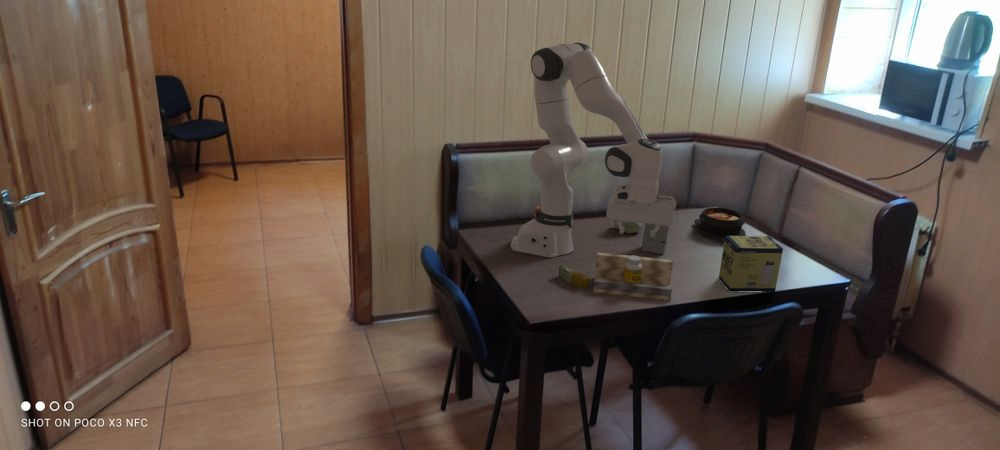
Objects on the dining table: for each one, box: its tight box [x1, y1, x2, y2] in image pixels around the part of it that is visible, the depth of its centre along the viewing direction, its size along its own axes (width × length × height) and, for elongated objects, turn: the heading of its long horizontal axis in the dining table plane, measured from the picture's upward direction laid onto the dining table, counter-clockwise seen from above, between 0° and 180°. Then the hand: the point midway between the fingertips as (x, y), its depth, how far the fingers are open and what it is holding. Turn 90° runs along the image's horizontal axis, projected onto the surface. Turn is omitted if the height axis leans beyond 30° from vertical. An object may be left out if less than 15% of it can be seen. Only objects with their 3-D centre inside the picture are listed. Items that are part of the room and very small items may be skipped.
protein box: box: [718, 235, 784, 293], centre depth 234 cm, size 10×16×16 cm
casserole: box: [693, 207, 747, 242], centre depth 278 cm, size 25×19×8 cm
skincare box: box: [641, 224, 671, 255], centre depth 259 cm, size 8×7×16 cm
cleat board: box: [592, 251, 674, 301], centre depth 229 cm, size 24×11×9 cm, turn 80°
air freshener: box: [613, 220, 644, 235], centre depth 277 cm, size 11×8×10 cm
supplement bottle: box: [624, 255, 642, 284], centre depth 229 cm, size 5×5×10 cm
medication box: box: [558, 263, 590, 291], centre depth 233 cm, size 12×3×4 cm, turn 38°
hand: (636, 235), depth 225 cm, fingers open, 8 cm apart
